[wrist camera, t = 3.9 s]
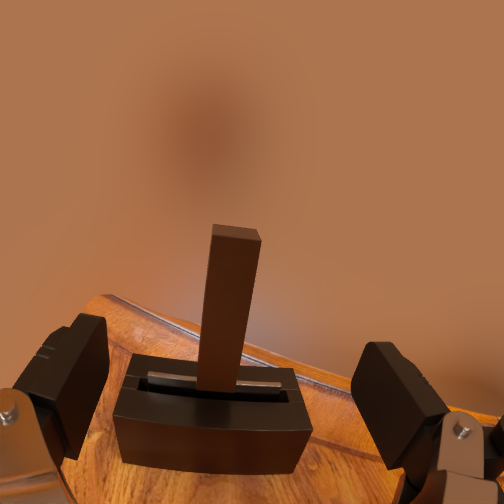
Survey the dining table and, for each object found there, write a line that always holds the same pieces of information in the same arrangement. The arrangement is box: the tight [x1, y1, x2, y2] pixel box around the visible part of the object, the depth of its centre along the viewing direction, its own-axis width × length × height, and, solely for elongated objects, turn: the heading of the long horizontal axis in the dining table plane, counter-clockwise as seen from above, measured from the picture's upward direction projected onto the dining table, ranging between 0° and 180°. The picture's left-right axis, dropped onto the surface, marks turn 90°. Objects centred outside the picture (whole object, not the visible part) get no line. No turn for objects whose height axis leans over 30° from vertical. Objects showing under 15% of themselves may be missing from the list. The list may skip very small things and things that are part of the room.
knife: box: [148, 224, 282, 403], centre depth 17 cm, size 2×8×15 cm, turn 96°
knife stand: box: [113, 353, 313, 475], centre depth 19 cm, size 6×11×5 cm, turn 96°
